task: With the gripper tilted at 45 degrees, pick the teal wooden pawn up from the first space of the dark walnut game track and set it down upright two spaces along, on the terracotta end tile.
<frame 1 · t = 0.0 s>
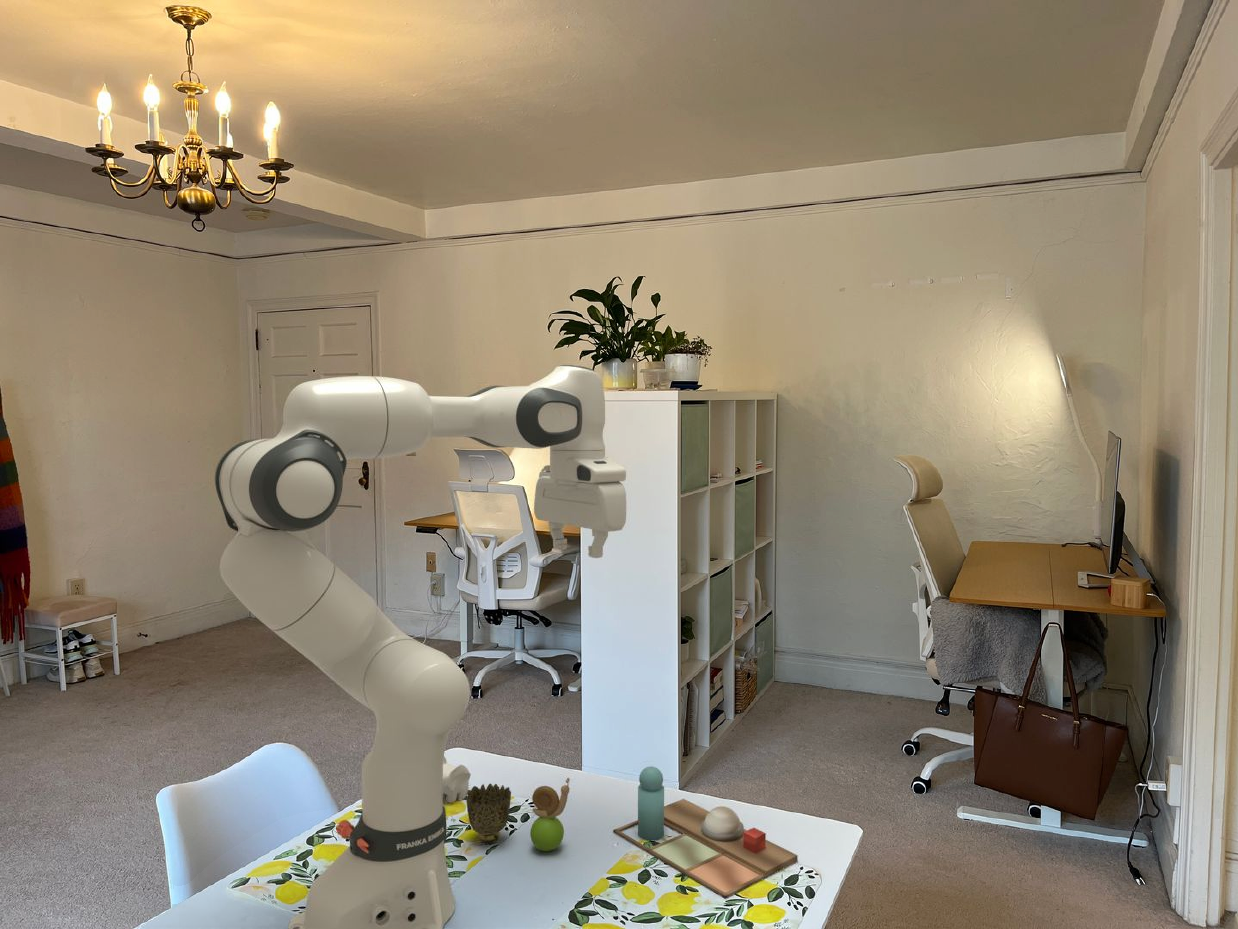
hand: (577, 553, 139), 48 cm above the table, tool pointing down, fingers open, 8 cm apart
pawn: (650, 834, 145), resting in game board
game board: (685, 854, 139), on the table
elephant figurine: (446, 800, 158), on the table
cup: (488, 841, 143), on the table
snail figurine: (550, 850, 140), on the table
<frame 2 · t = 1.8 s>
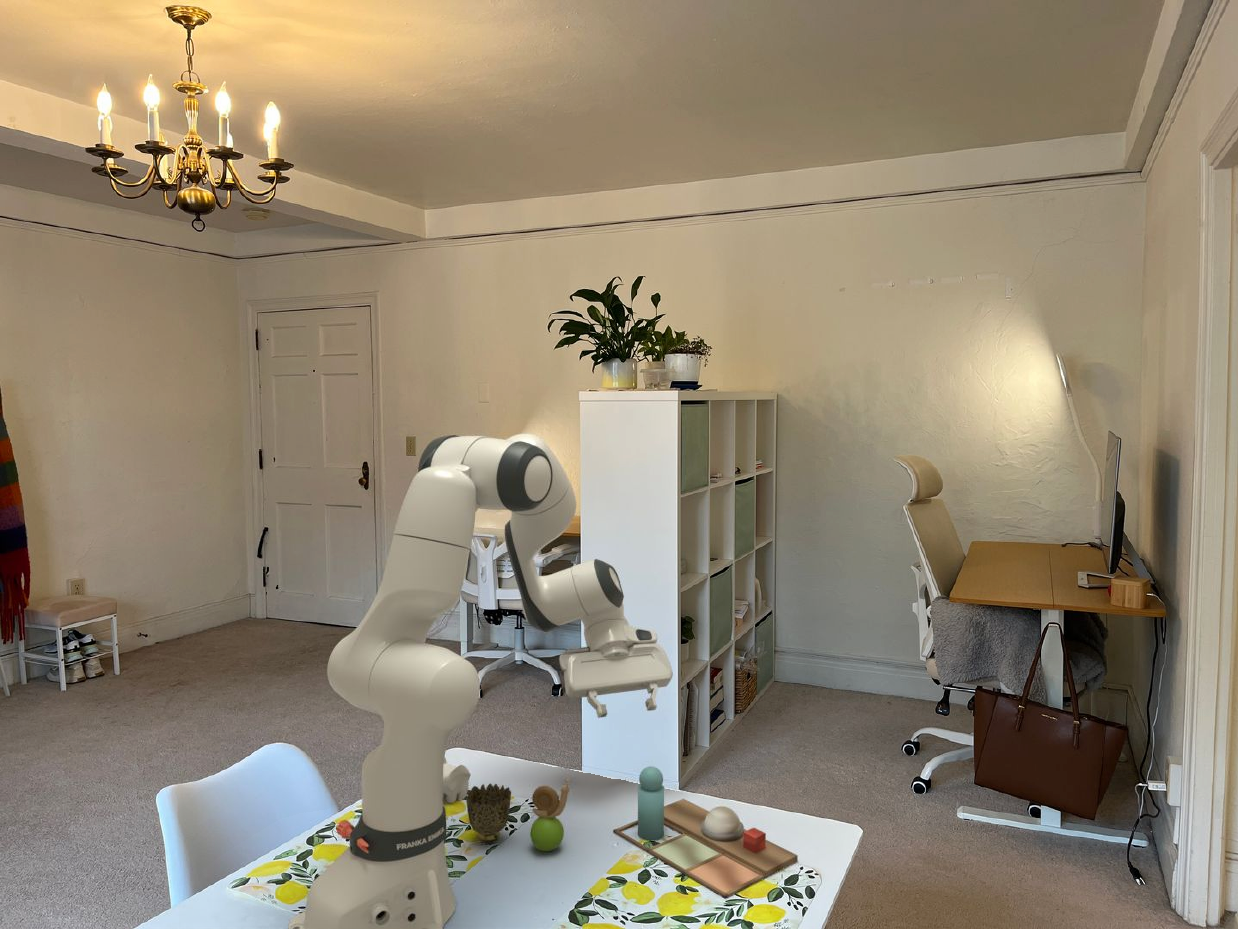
hand: (627, 712, 156), 17 cm above the table, tool tilted 45°, fingers open, 8 cm apart
nothing on the table moved.
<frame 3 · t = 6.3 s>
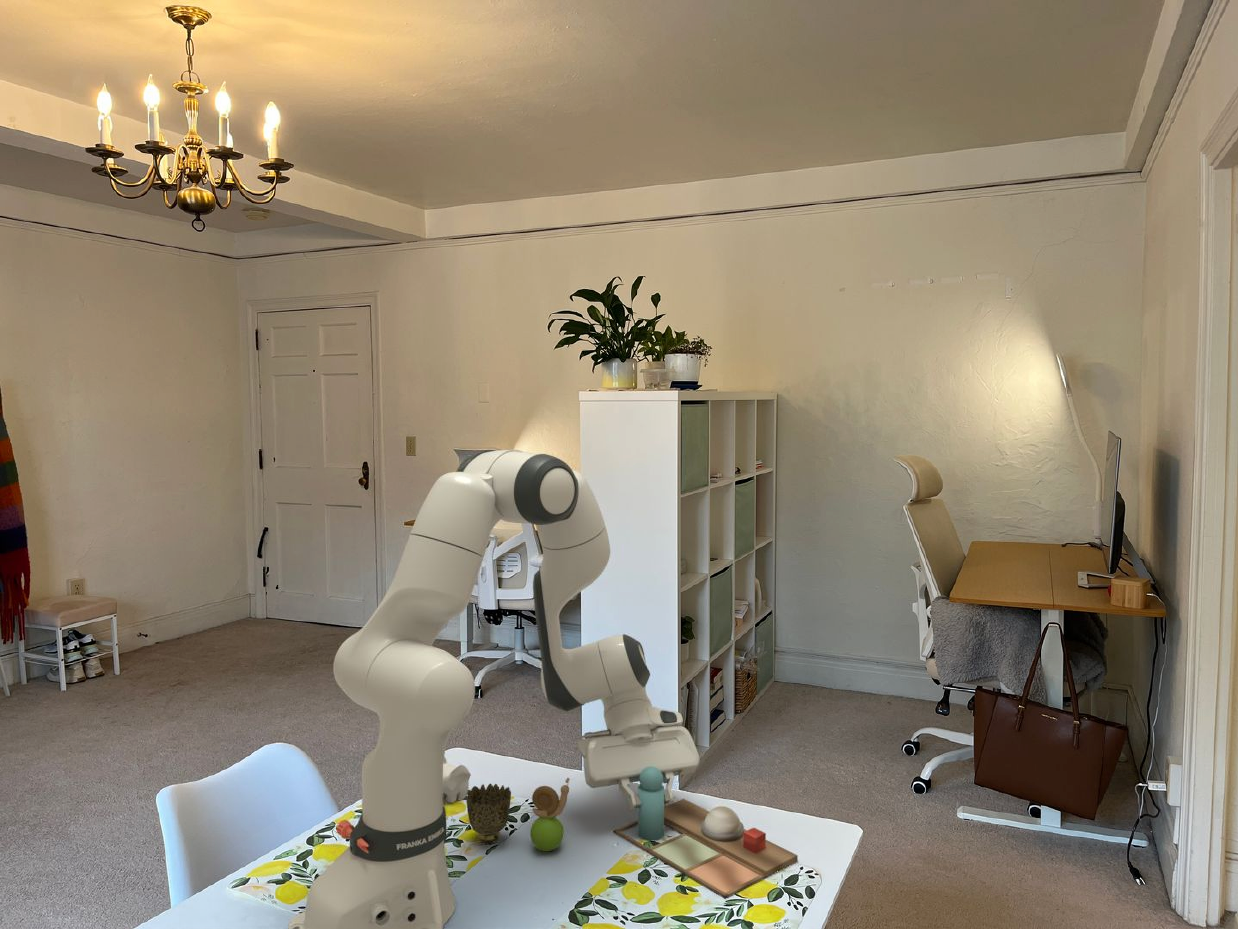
hand: (652, 804, 144), 5 cm above the table, tool tilted 45°, fingers closed on pawn, 4 cm apart
pawn: (650, 834, 145), resting in game board, touching gripper
everything else where it was.
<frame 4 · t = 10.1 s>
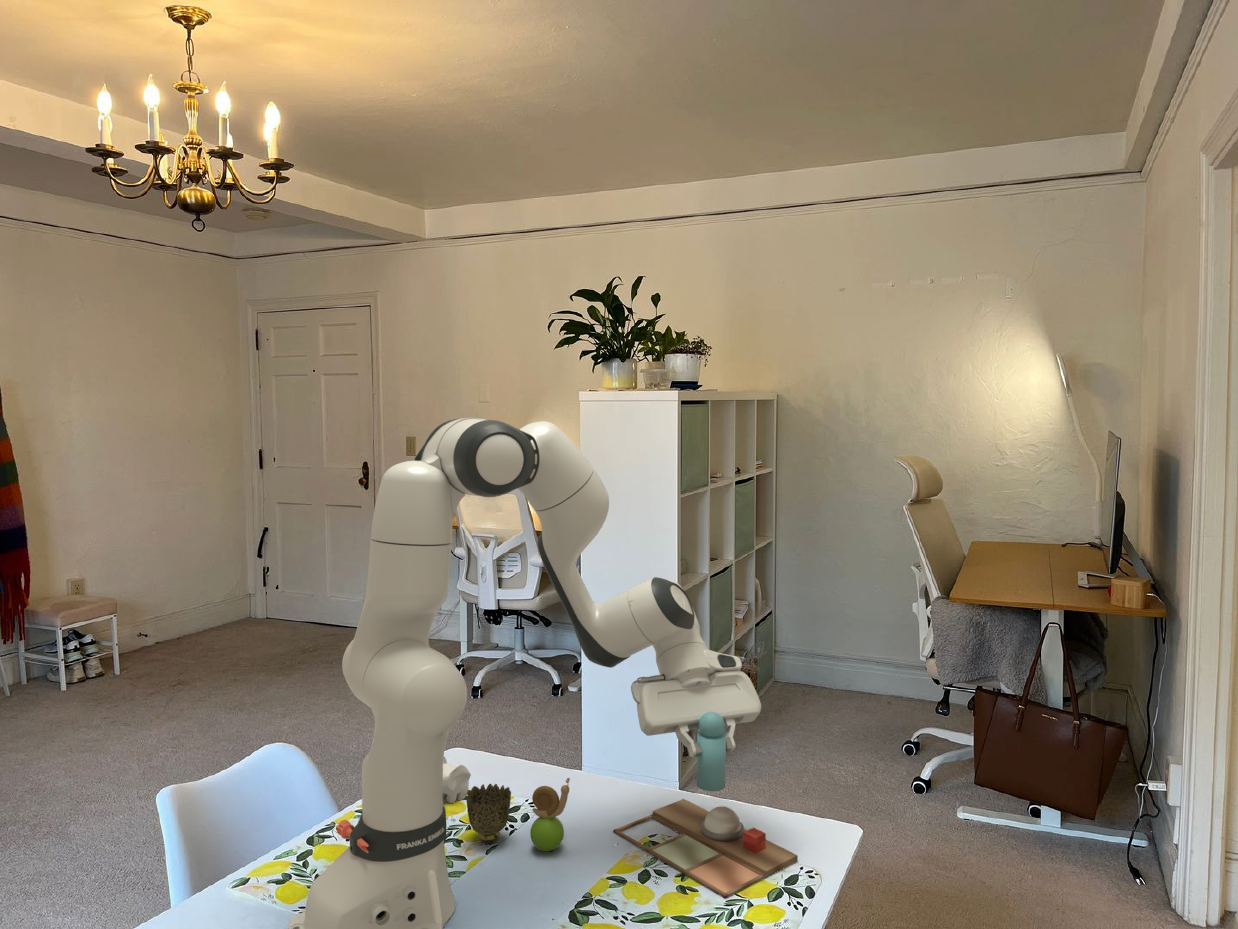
hand: (713, 752, 133), 18 cm above the table, tool tilted 45°, fingers closed on pawn, 4 cm apart
pawn: (711, 785, 134), point 13 cm above the table, touching gripper
everything else where it was.
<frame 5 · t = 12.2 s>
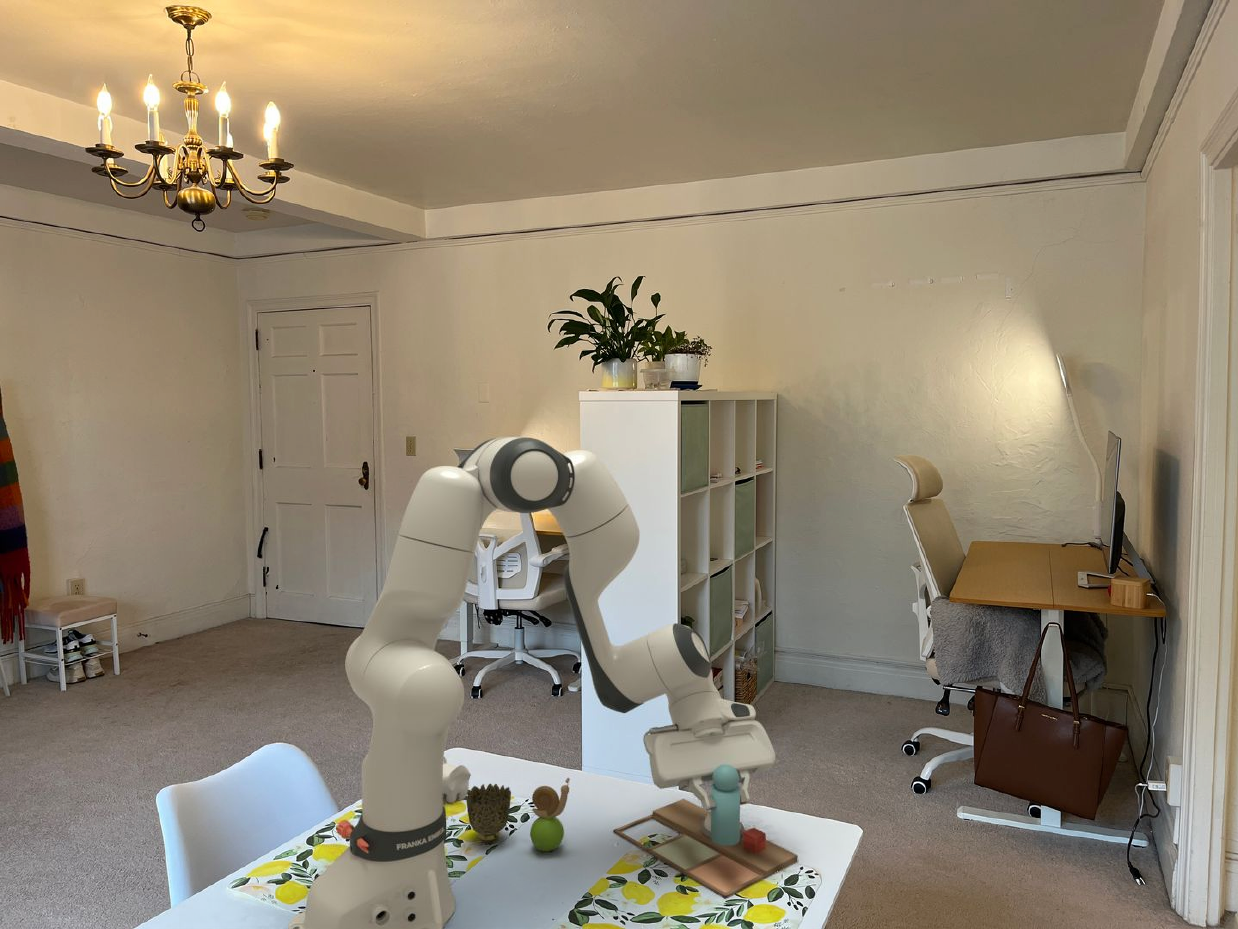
hand: (727, 806, 131), 11 cm above the table, tool tilted 45°, fingers closed on pawn, 4 cm apart
pawn: (725, 838, 132), point 6 cm above the table, touching gripper
everything else where it was.
when the fingers open (7 cm above the table, at t = 14.0 s): pawn stays where it is, resting on game board.
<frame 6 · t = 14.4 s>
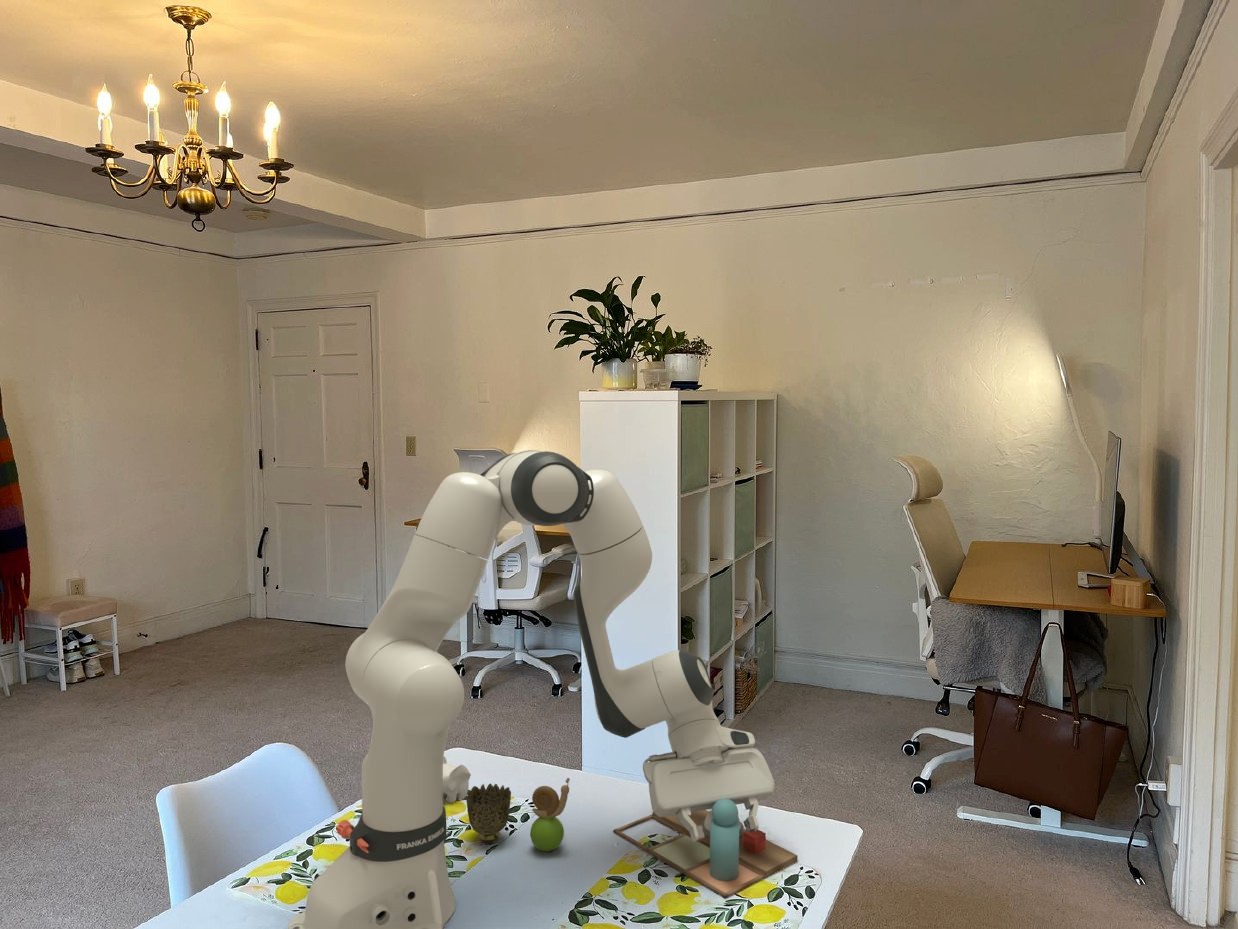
hand: (726, 835, 132), 7 cm above the table, tool tilted 45°, fingers open, 8 cm apart
pawn: (724, 873, 133), resting on game board
everything else where it was.
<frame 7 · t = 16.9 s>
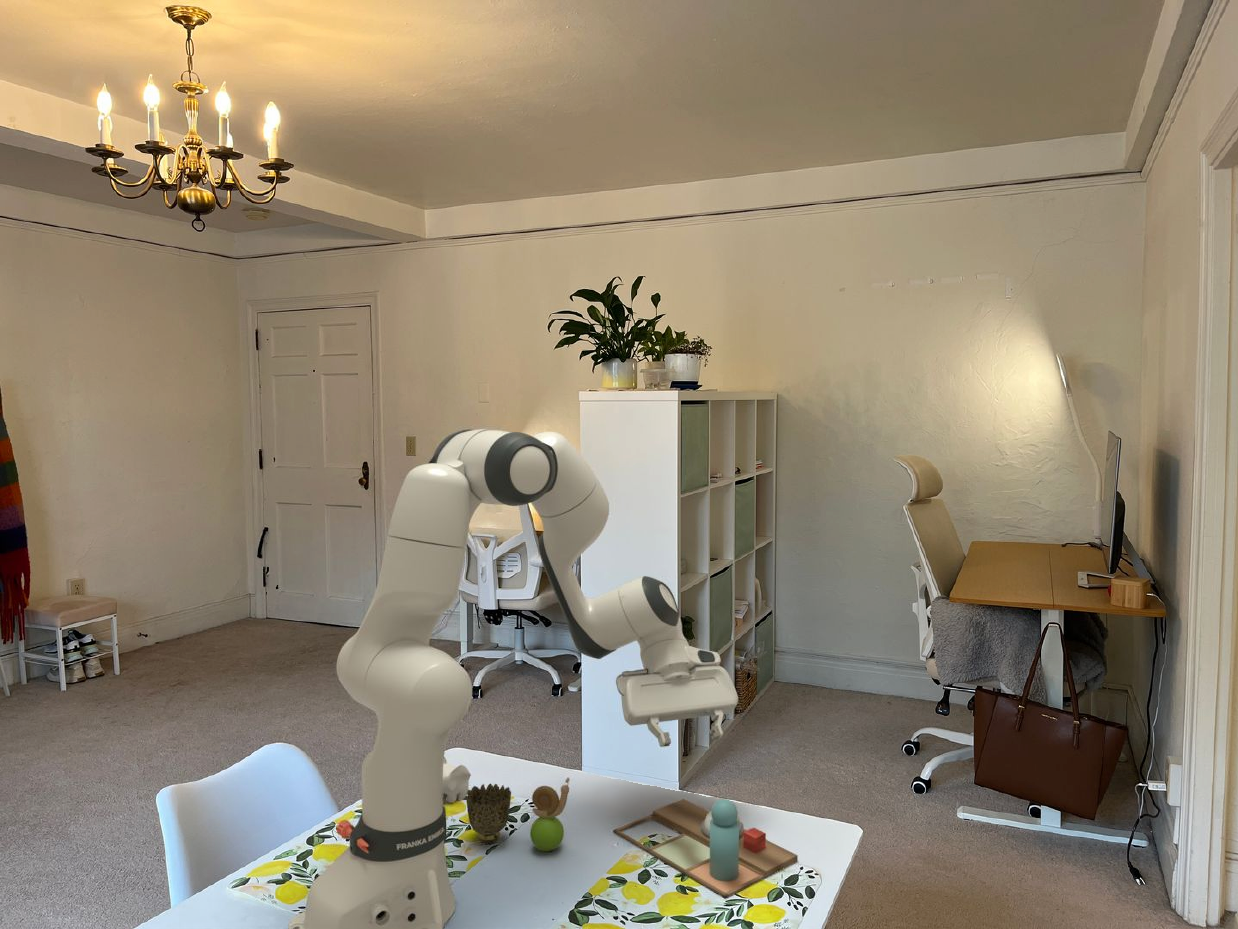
hand: (692, 741, 143), 16 cm above the table, tool tilted 45°, fingers open, 8 cm apart
nothing on the table moved.
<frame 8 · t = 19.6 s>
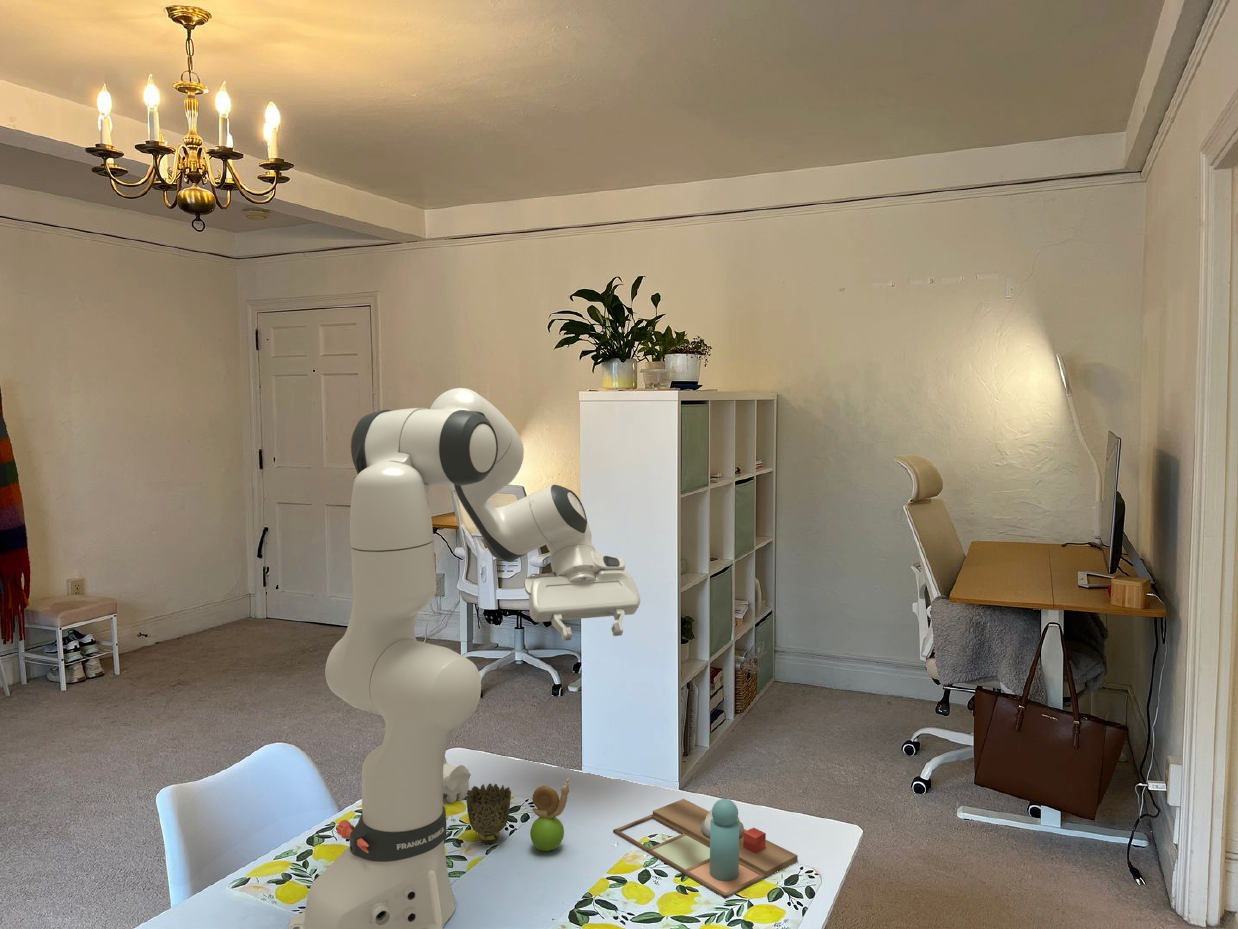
hand: (593, 636, 152), 31 cm above the table, tool tilted 45°, fingers open, 8 cm apart
nothing on the table moved.
at the end: pawn inside the target area on the game board (0.0 cm from its centre), point 0.3 cm above the game board's base; pawn tilted 1°; the gripper is holding nothing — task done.
